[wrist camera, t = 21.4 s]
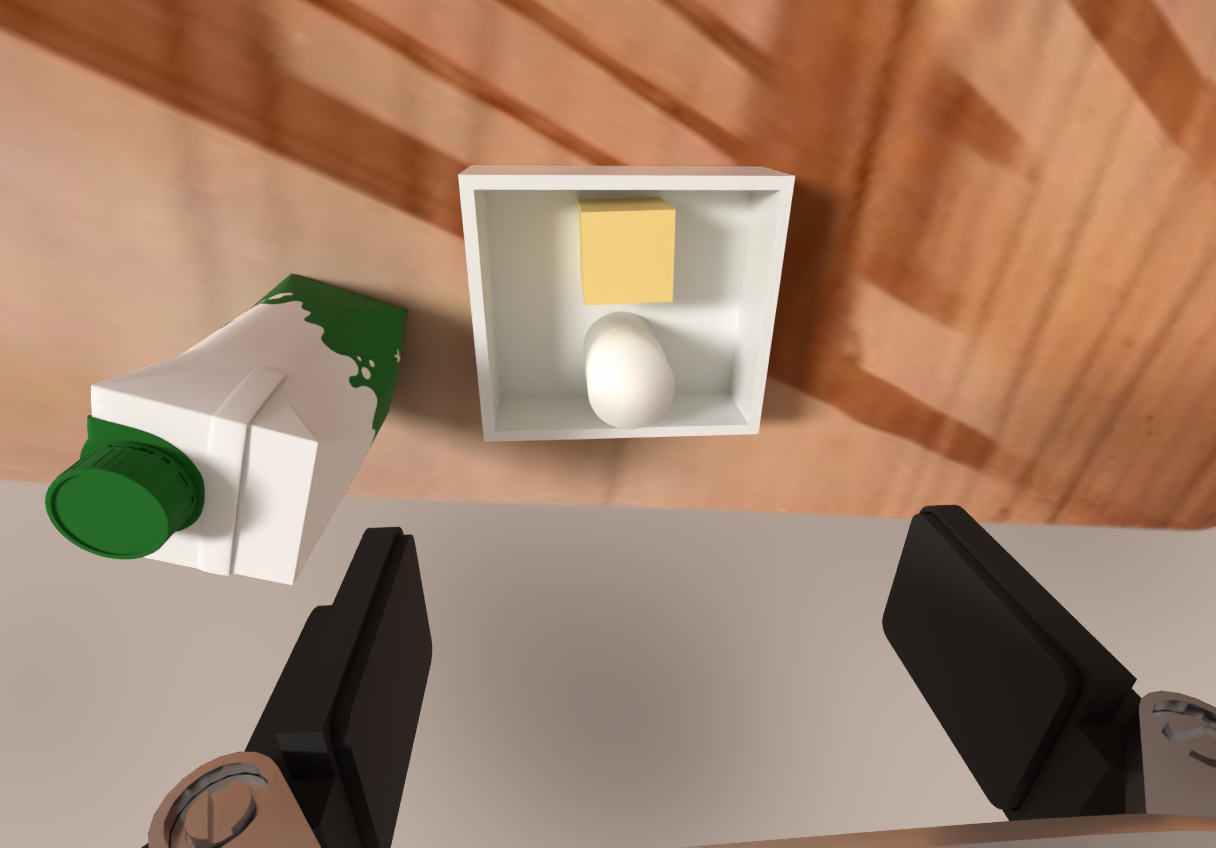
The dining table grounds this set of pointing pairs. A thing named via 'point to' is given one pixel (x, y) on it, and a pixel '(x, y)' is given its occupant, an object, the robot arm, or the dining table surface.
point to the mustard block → (626, 250)
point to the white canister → (626, 371)
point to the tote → (558, 319)
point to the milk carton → (236, 437)
